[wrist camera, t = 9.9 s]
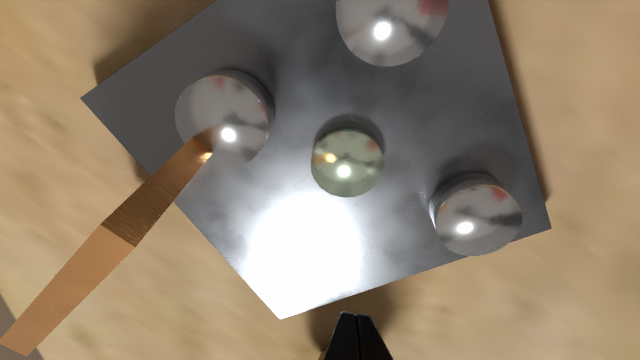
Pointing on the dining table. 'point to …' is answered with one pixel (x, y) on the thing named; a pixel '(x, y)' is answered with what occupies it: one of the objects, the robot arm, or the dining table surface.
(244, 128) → the thick wooden plank
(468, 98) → the tribrach plate
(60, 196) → the dining table surface
